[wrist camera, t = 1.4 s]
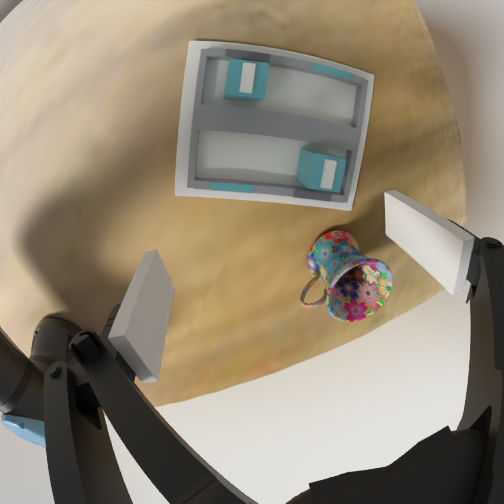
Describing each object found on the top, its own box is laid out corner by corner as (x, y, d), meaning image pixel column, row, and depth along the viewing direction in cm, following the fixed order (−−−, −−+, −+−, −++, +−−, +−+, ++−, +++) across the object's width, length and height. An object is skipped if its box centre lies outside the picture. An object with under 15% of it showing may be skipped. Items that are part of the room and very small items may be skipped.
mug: (352, 216, 39) (389, 248, 29) (362, 265, 43) (394, 303, 34) (277, 247, 40) (296, 289, 30) (296, 294, 44) (315, 340, 35)
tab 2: (295, 178, 34) (309, 189, 29) (300, 148, 32) (315, 153, 27) (324, 182, 35) (341, 194, 30) (329, 153, 33) (348, 160, 28)
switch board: (175, 193, 34) (171, 200, 32) (190, 42, 26) (187, 35, 23) (348, 208, 38) (357, 216, 35) (370, 75, 29) (382, 73, 27)
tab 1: (223, 98, 29) (224, 94, 24) (227, 67, 27) (229, 57, 22) (257, 102, 29) (265, 98, 24) (261, 71, 27) (270, 62, 22)
